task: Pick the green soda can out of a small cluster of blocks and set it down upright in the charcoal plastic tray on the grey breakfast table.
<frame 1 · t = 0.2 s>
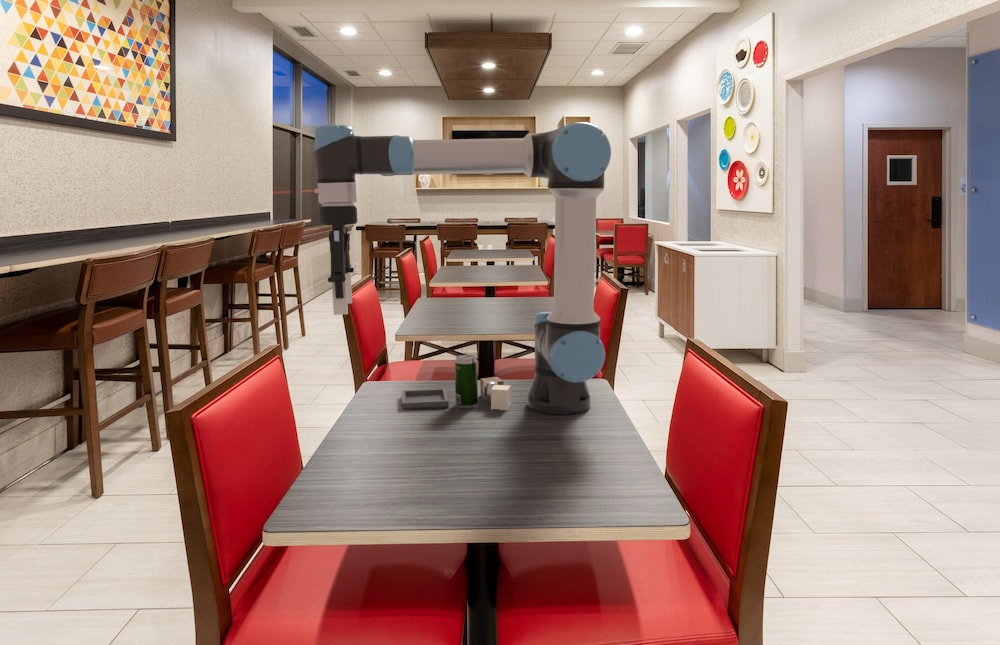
hand: (343, 308, 146), 28 cm above the table, fingers open, 13 cm apart
grey metal cylinder: (490, 402, 174), on the table
green soda can: (466, 405, 172), on the table
tray: (424, 401, 175), on the table
walnut block: (492, 397, 178), on the table
cream block: (501, 407, 170), on the table
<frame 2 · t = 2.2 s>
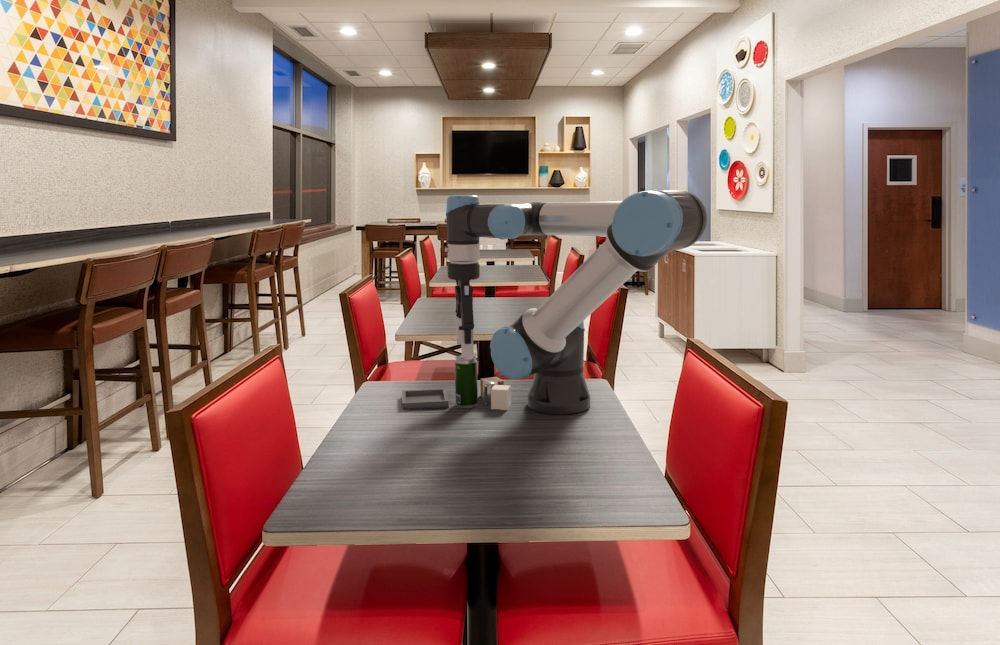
hand: (464, 350, 169), 14 cm above the table, fingers open, 13 cm apart
nothing on the table moved.
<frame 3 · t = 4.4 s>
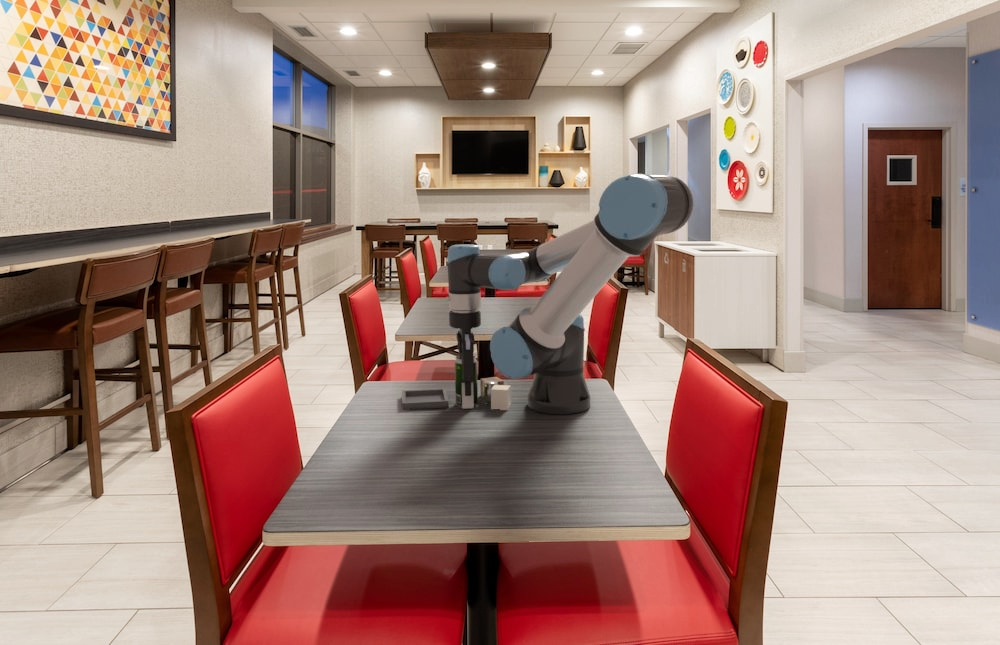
hand: (466, 403, 172), 0 cm above the table, fingers closed on green soda can, 5 cm apart
green soda can: (466, 405, 172), on the table, touching gripper
everything else where it was.
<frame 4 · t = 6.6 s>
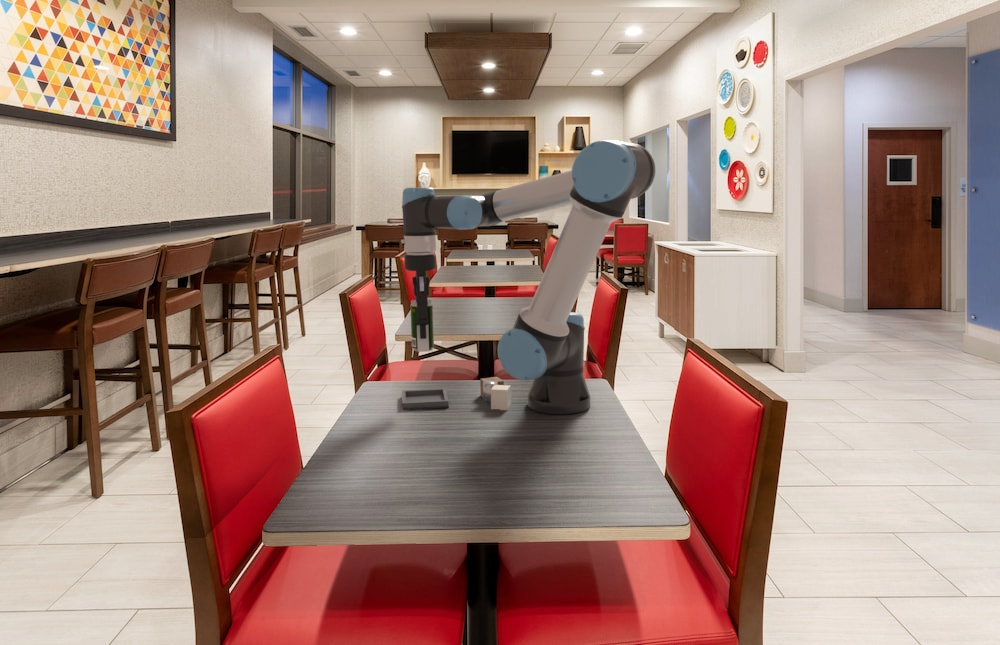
hand: (423, 348, 172), 14 cm above the table, fingers closed on green soda can, 5 cm apart
green soda can: (423, 350, 172), point 13 cm above the table, touching gripper
everything else where it was.
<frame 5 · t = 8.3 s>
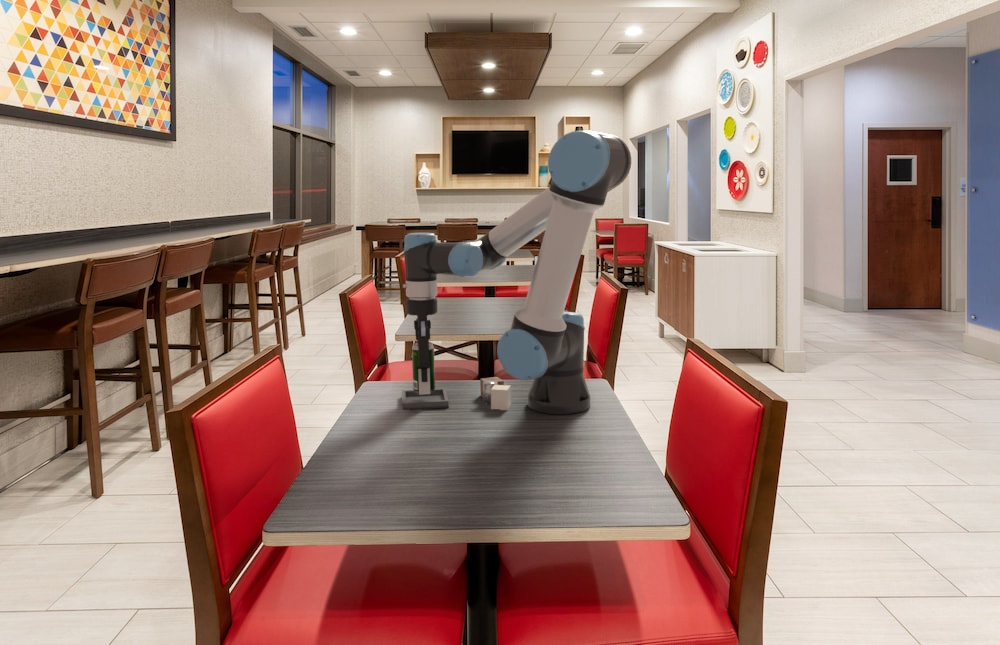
hand: (424, 390, 174), 3 cm above the table, fingers closed on green soda can, 5 cm apart
green soda can: (424, 392, 174), point 2 cm above the table, touching gripper
everything else where it was.
when the fingers open (2 cm above the table, at t = 9.2 s): green soda can drops 2 cm, resting on tray.
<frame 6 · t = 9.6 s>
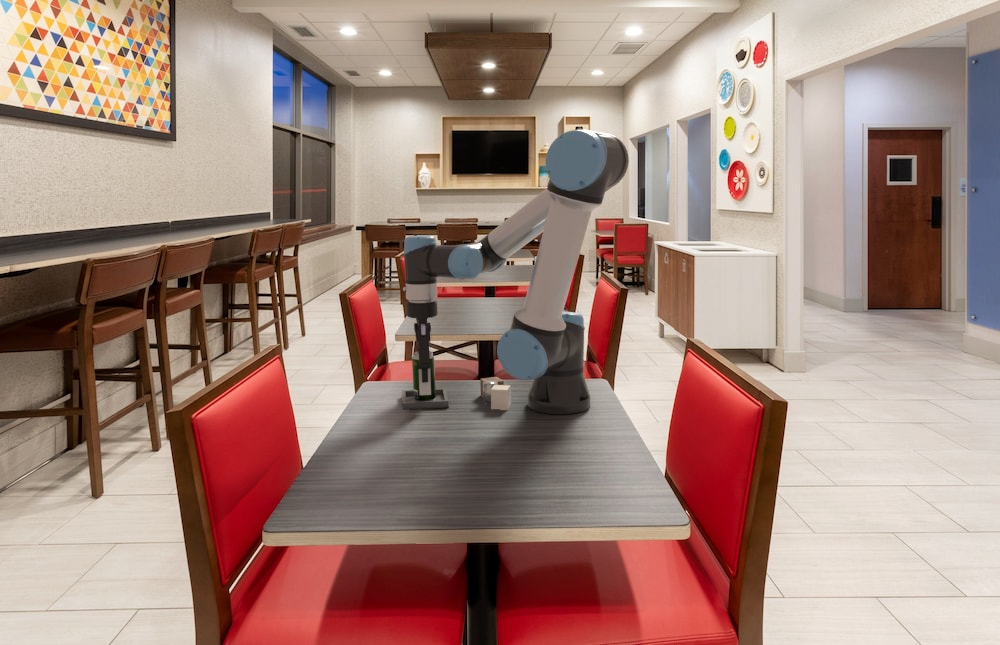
hand: (424, 387, 174), 4 cm above the table, fingers open, 11 cm apart
green soda can: (425, 401, 174), resting on tray
everything else where it was.
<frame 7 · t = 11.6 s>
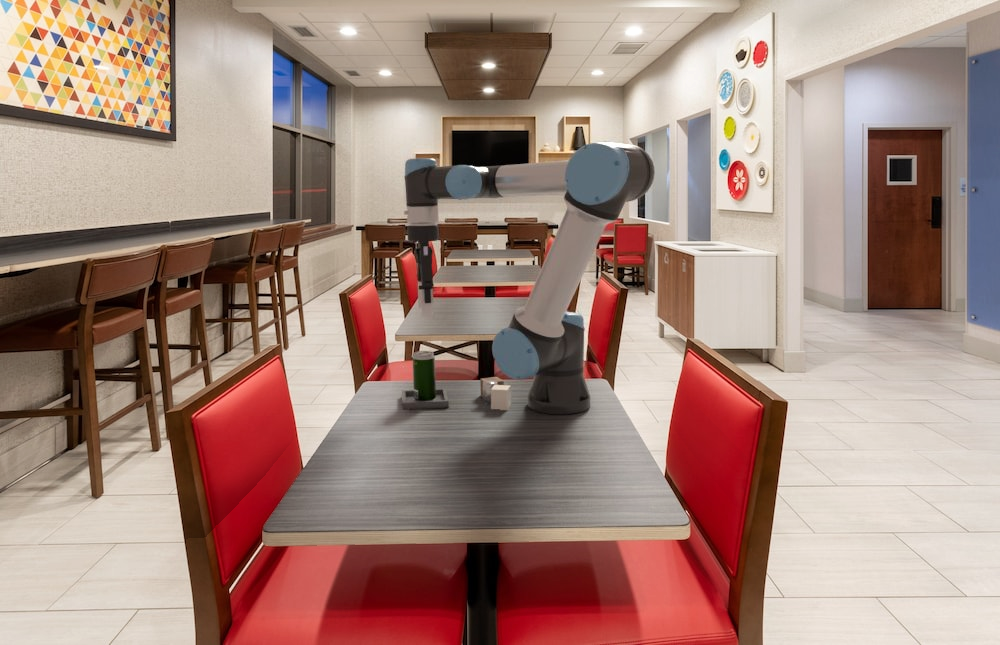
hand: (425, 311, 173), 22 cm above the table, fingers open, 13 cm apart
nothing on the table moved.
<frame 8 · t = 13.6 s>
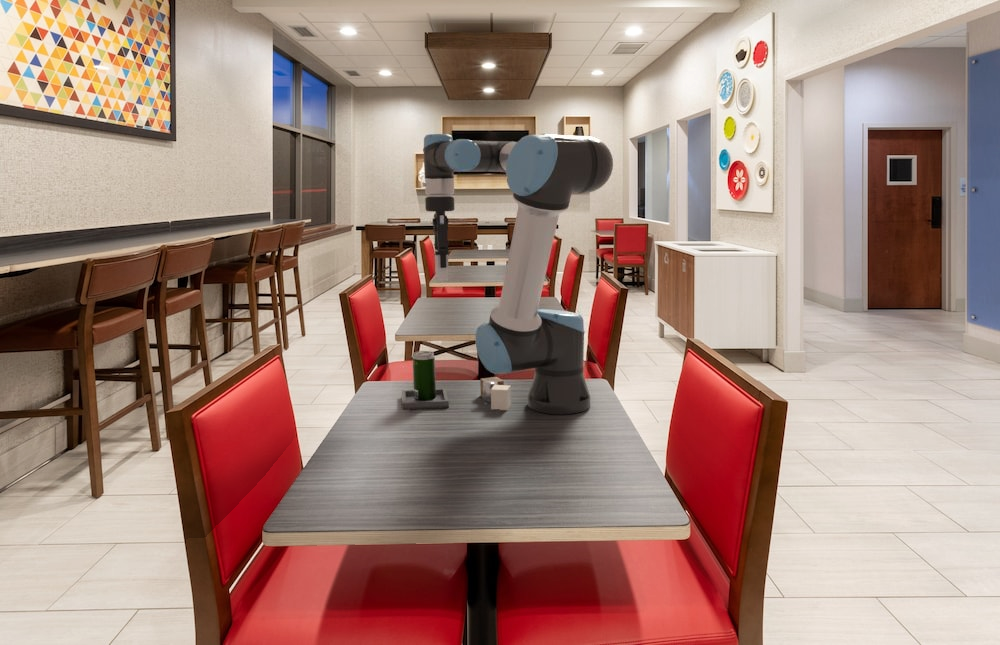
hand: (441, 277, 187), 29 cm above the table, fingers open, 13 cm apart
nothing on the table moved.
at the end: green soda can inside the target area on the tray (0.2 cm from its centre), point 0.2 cm above the tray's base; green soda can tilted 0°; the gripper is holding nothing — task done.
